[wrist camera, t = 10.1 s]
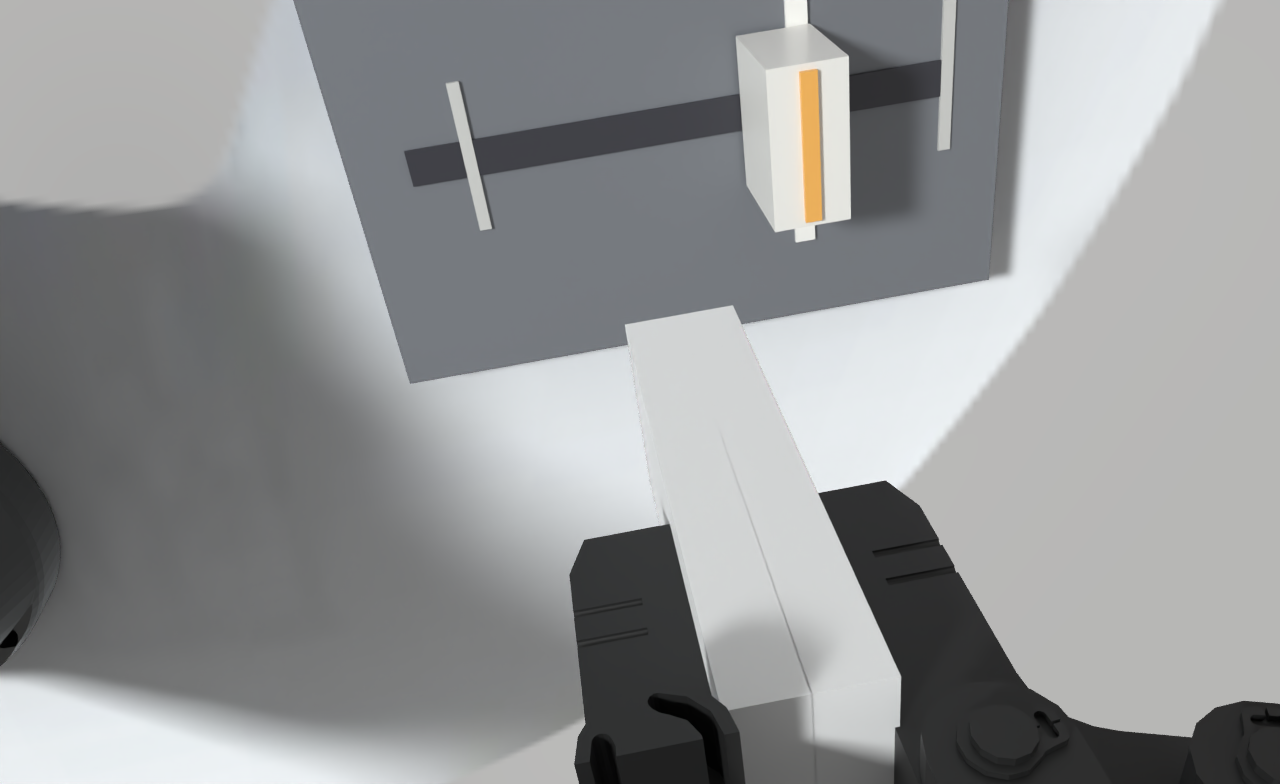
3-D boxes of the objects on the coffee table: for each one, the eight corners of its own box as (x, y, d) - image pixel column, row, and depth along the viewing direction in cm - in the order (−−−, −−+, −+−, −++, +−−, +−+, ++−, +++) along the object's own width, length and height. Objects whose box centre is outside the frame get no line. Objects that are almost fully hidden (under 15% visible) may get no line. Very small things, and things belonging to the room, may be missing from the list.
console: (413, 356, 39) (409, 385, 37) (278, -99, 30) (264, -89, 28) (967, 256, 40) (990, 281, 38) (994, -213, 31) (1025, -210, 29)
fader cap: (746, 185, 34) (776, 234, 31) (735, 35, 32) (767, 71, 28) (814, 173, 34) (852, 220, 31) (810, 23, 32) (850, 57, 28)
